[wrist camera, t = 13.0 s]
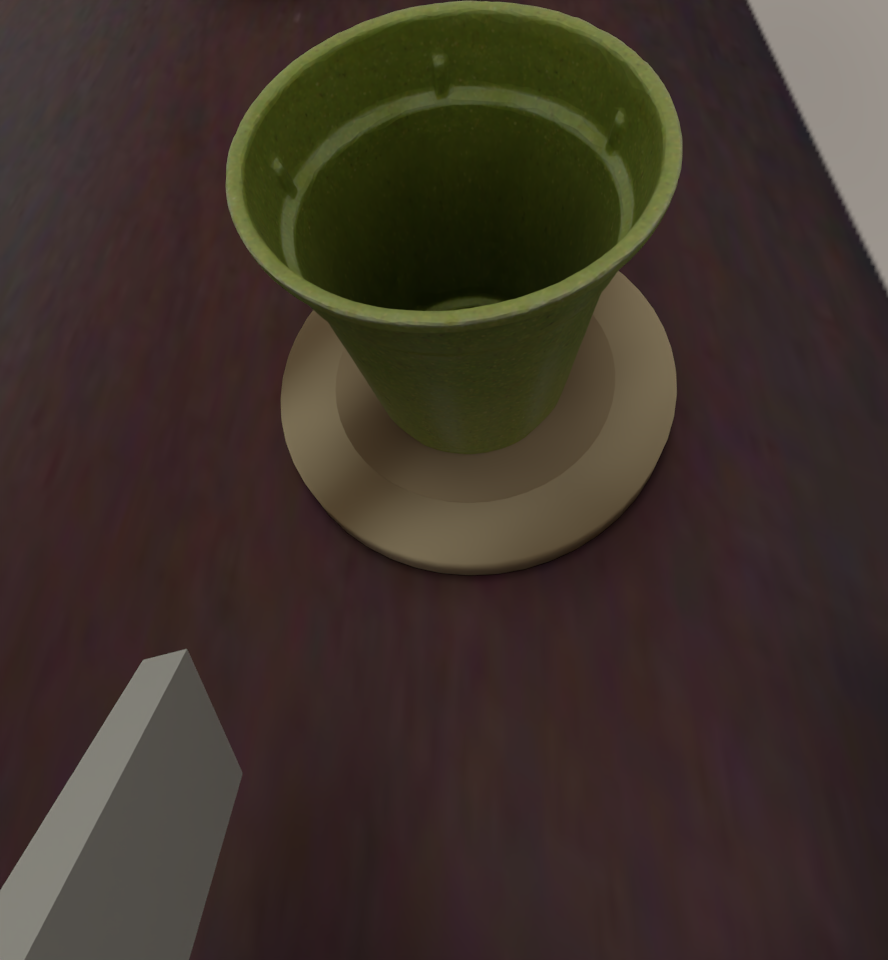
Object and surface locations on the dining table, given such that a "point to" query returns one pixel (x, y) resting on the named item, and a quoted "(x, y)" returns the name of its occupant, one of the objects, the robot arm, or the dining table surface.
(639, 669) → the dining table surface
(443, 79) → the plant pot
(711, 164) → the dining table surface
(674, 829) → the dining table surface
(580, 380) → the plate
